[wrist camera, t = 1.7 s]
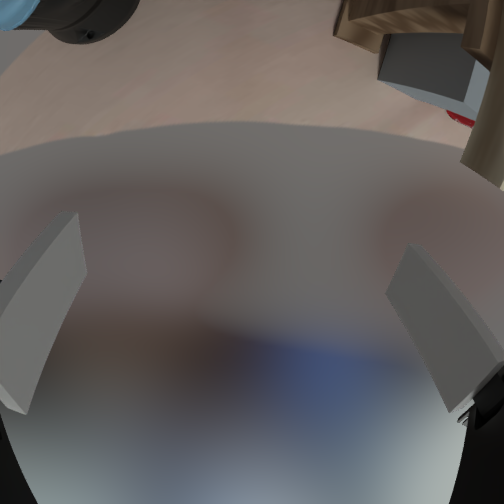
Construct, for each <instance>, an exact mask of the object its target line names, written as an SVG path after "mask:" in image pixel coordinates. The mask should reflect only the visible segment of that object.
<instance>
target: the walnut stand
mask: <svg viewBox="0 0 504 504" xmlns="http://www.w3.org/2000/svg"><path fill="white" fill-rule="evenodd" d="M502 7H503V0H344V2H343V6H342V9H341V12H340V15H339V19H338V22H337V25H336V29H335V32H334V35H333V36H335V37H337V38H340V39H342V40H345V41H347V42H350V43H352V44H354V45H357V46H359V47H361V48H363V49H365V50H368V51H370V52H372V53H379V49H380V46H381V43H382V39H383V36H384V34H393V33H420V32H434V33H461V34H463V38H462V42H461V46H460V47H461V48H463V49H464V50H465V51H466V52H468V53H469V54H470V55H471V56H472V57H474V58H475V59H476V60H477V61H478V62H479V63H480V64H482V65H483V66H484V67H485V68H486V69H487V70H488V71H489V72H490V71H491V67H492V63H493V58H494V54H495V49H496V44H497V39H498V34H499V28H500V22H501V15H502Z"/></svg>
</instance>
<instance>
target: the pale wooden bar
mask: <svg viewBox="0 0 504 504" xmlns="http://www.w3.org/2000/svg"><path fill="white" fill-rule="evenodd" d="M460 162H461V163H462V164H464V165H465V166H467V167H469V168H470V169H472V170H473V171H475V172H476V173H478V174H480V175H481V176H482V177H484V178H485V179H487V180H488V181H490V182H491V183H492V184H494V185H495V186H497V187H498V188H500V189H501V190H502V191H504V0H503V7H502V15H501V22H500V28H499V34H498V39H497V44H496V49H495V54H494V58H493V63H492V67H491V71H490V75H489V78H488V82H487V86H486V89H485V93H484V96H483V99H482V102H481V106H480V109H479V112H478V115H477V118H476V121H475V124H474V126H473V129H472V132H471V135H470V137H469V140H468V143H467V145H466V148H465V150H464V153H463V155H462V158H461V160H460Z"/></svg>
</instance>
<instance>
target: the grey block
mask: <svg viewBox="0 0 504 504" xmlns="http://www.w3.org/2000/svg"><path fill="white" fill-rule="evenodd" d="M462 38H463V34H461V33H434V32H420V33H393V34H391V38H390V41H389V44H388V48H387V51H386V54H385V58H384V61H383V64H382V67H381V70H380V74H379V77H378V80H379V81H381V82H383V83H385V84H387V85H389V86H391V87H393V88H395V89H397V90H399V91H401V92H403V93H405V94H407V95H409V96H410V97H412V98H414V99H417V100H420V101H423V102H426V103H429V104H432V105H435V106H438V107H440V108H443V109H446V110H449V111H451V112H454V113H457V114H459V115H462V116H464V117H467V118H469V119H471V120H474V121H476V118H477V115H478V112H479V109H480V106H481V102H482V99H483V96H484V93H485V89H486V86H487V82H488V78H489V75H490V72H489V71H488V70H487V69H486V68H485V67H484V66H483V65H482V64H480V63H479V62H478V61H477V60H476V59H475V58H474V57H472V56H471V55H470V54H469V53H468V52H466V51H465V50H464V49H463V48H461V47H460V46H461V42H462Z"/></svg>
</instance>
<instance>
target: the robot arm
mask: <svg viewBox="0 0 504 504" xmlns="http://www.w3.org/2000/svg"><path fill="white" fill-rule="evenodd" d="M139 1H140V0H0V30H3V31H9V30H19V29H20V30H23V29H24V30H48V31H49V32H50V33H51V34H52V35H53V36H54V37H55V38H57V39H58V40H60V41H62V42H65V43H69V44H90V43H94V42H97V41H100V40H102V39H104V38H106V37H108V36H110V35H112V34H113V33H115V32H116V31H117V30H119V29H120V28H121V27H122V26H123V25H124V24H125V23H126V22H127V21H128V20H129V19H130V17H131V16H132V15H133V13H134V11H135V10H136V8H137V6H138V4H139ZM86 275H87V268H86V263H85V258H84V252H83V246H82V240H81V233H80V226H79V218H78V212H64V211H61V212H60V213H59V214H58V215H57V216H56V217H55V218H54V219H53V220H52V221H51V222H50V224H49V225H48V226H47V227H46V228H45V229H44V230H43V231H42V232H41V234H40V235H39V236H38V237H37V238H36V239H35V240H34V241H33V243H32V244H31V245H30V246H29V247H28V249H27V250H26V251H25V252H24V253H23V255H22V256H21V257H20V258H19V260H18V261H17V262H16V264H15V265H14V266H13V267H12V268H11V270H10V271H9V272H8V274H7V275H6V276H5V278H4V279H3V280H0V400H1V401H2V402H3V403H4V405H6V407H7V408H9V409H12V410H14V411H17V412H20V413H22V414H25V415H27V412H28V409H29V406H30V403H31V400H32V397H33V394H34V391H35V388H36V386H37V383H38V380H39V377H40V374H41V372H42V369H43V367H44V364H45V362H46V359H47V357H48V355H49V352H50V350H51V347H52V345H53V343H54V340H55V338H56V336H57V333H58V331H59V329H60V327H61V325H62V323H63V320H64V318H65V316H66V314H67V312H68V310H69V308H70V306H71V304H72V302H73V299H74V298H75V296H76V294H77V292H78V290H79V288H80V286H81V284H82V282H83V280H84V279H85V277H86ZM385 294H386V295H387V297H388V299H389V301H390V302H391V304H392V306H393V307H394V309H395V311H396V312H397V314H398V316H399V318H400V319H401V321H402V323H403V325H404V326H405V328H406V330H407V332H408V333H409V335H410V337H411V339H412V341H413V342H414V344H415V346H416V348H417V350H418V352H419V354H420V355H421V357H422V359H423V361H424V363H425V365H426V367H427V369H428V371H429V373H430V375H431V377H432V378H433V381H434V382H435V385H436V387H437V389H438V390H439V393H440V395H441V397H442V399H443V401H444V403H445V405H446V408H447V410H448V412H449V413H451V412H454V411H456V410H459V409H462V408H463V407H464V406H465V405H466V404H467V403H468V402H469V401H470V400H471V399H472V398H473V400H474V402H475V403H474V404H473V406H471V407H470V408H469V409H468V410H467V411H466V412H465V413H463V414H462V415H461V416H460V417H459V418H458V421H457V422H458V423H460V422H461V421H462V420H463V419H464V418H465V417H468V418H467V419H466V420H465V421H464V422H463V424H462V425H464V426H467V430H466V436H465V442H464V447H463V452H462V457H461V461H460V466H459V470H458V474H457V478H456V481H455V485H454V489H453V492H452V496H451V499H450V502H449V504H504V350H503V348H502V347H501V345H500V344H499V342H498V341H497V339H496V338H495V336H494V335H493V334H492V332H491V331H490V329H489V328H488V326H487V325H486V324H485V322H484V321H483V320H482V318H481V317H480V315H479V314H478V313H477V312H476V310H475V309H474V307H473V306H472V305H471V304H470V302H469V301H468V300H467V298H466V297H465V296H464V295H463V293H462V292H461V291H460V290H459V288H458V287H457V286H456V285H455V283H454V282H453V281H452V280H451V279H450V277H449V276H448V275H447V274H446V273H445V272H444V270H443V269H442V268H441V267H440V266H439V264H438V263H437V262H436V261H435V260H434V259H433V258H432V257H431V255H429V253H428V252H427V251H426V250H425V249H424V248H423V247H422V245H419V244H411V243H408V245H407V247H406V250H405V252H404V254H403V256H402V259H401V261H400V263H399V265H398V267H397V270H396V272H395V274H394V276H393V278H392V280H391V282H390V285H389V287H388V289H387V291H386V293H385ZM0 504H38V503H37V501H36V499H35V497H34V496H33V494H32V492H31V490H30V488H29V486H28V484H27V482H26V480H25V478H24V475H23V473H22V471H21V469H20V466H19V464H18V462H17V459H16V457H15V454H14V452H13V450H12V447H11V444H10V441H9V439H8V436H7V433H6V430H5V428H4V424H3V421H2V418H1V415H0Z"/></svg>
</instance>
